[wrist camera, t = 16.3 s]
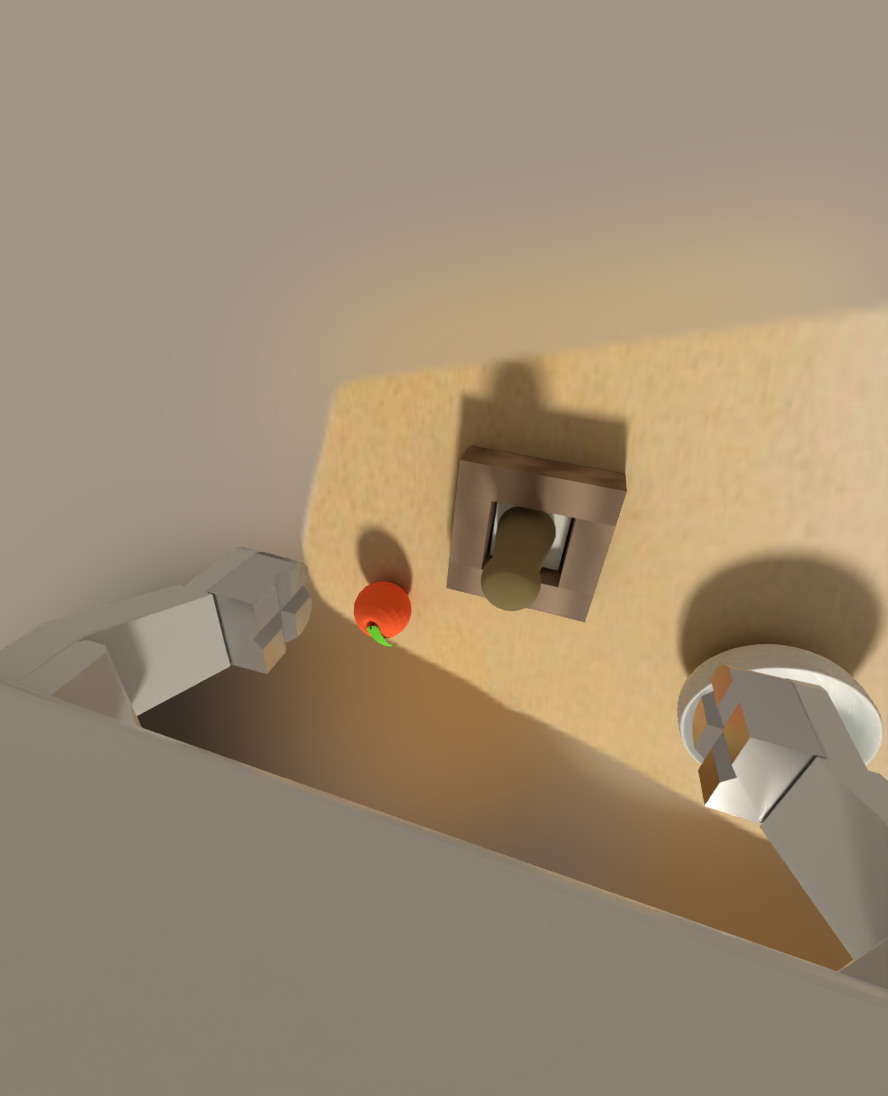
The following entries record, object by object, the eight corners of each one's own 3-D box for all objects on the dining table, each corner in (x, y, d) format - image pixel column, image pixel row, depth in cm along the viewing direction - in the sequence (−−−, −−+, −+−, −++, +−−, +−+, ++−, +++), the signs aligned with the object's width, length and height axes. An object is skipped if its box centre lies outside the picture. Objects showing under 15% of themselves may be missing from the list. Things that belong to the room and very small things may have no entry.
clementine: (432, 615, 60) (413, 654, 54) (388, 625, 63) (366, 662, 57) (402, 564, 57) (379, 599, 51) (358, 577, 60) (332, 611, 54)
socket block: (625, 474, 44) (626, 491, 41) (586, 599, 52) (584, 622, 49) (469, 445, 47) (459, 459, 44) (456, 568, 55) (446, 587, 52)
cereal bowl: (856, 733, 51) (888, 793, 45) (687, 738, 58) (695, 791, 52) (847, 608, 44) (882, 660, 38) (657, 631, 52) (663, 678, 46)
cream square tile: (574, 504, 46) (574, 508, 46) (558, 565, 50) (557, 570, 50) (501, 489, 48) (499, 493, 47) (491, 550, 52) (489, 554, 51)
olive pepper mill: (500, 500, 47) (474, 556, 38) (560, 510, 46) (549, 571, 37) (494, 550, 51) (469, 613, 42) (550, 561, 49) (537, 628, 40)
